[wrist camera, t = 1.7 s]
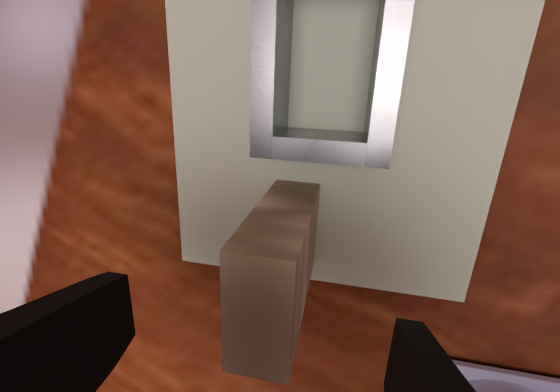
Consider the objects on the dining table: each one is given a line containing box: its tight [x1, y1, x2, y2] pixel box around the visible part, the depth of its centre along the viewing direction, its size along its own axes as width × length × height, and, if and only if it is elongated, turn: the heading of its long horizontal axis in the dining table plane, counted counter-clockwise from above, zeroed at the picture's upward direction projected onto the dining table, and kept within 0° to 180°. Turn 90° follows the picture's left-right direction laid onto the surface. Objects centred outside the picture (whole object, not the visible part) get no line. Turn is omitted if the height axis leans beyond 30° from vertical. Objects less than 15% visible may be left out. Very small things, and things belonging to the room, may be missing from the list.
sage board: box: [165, 0, 545, 302], centre depth 14 cm, size 14×14×1 cm
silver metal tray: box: [250, 0, 415, 169], centre depth 11 cm, size 5×7×3 cm
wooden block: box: [219, 180, 320, 385], centre depth 12 cm, size 2×4×7 cm, turn 177°
